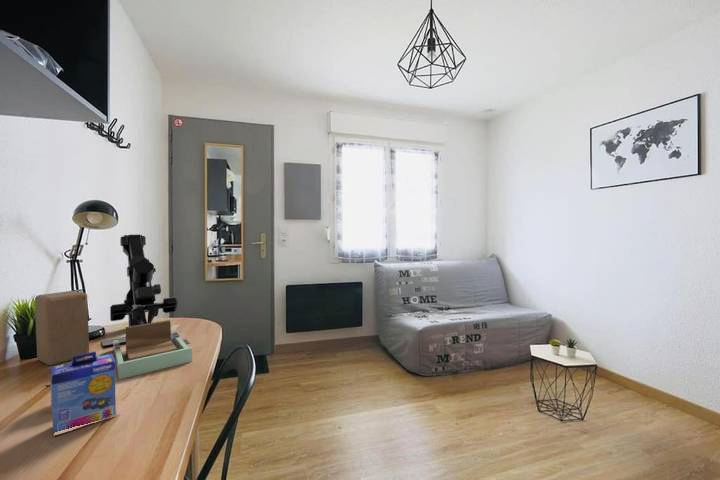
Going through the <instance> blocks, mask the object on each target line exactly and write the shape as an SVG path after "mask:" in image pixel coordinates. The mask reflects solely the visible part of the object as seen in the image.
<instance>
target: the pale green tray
mask: <svg viewBox="0 0 720 480" xmlns="http://www.w3.org/2000/svg"><path fill="white" fill-rule="evenodd" d="M171 341H172V342H173V344H174V345H175V346H176V348H177V350H175V351H171V352H166V353H162V354H157V355H153V356H148V357H143V358H139V359H134V360H130V361H128V360H126V361H124V358H123V355H122V350H121V345H120V342H119V340H118V339H116V340H115V339H114V340H113V342H112V344H113V353H111V354H112V355H113V357H114V360H115V365H116V368H117V373H118V379H119V380H122V379H127V378H130V377H134V376H139V375H143V374H146V373H150V372H155V371H159V370H162V369H166V368H170V367H171V368H172V367H174V366H179V365H184V364H188V363H193V347H191V346H190V347H189V346H188V344H189V345H190V342H189V340H188V339H187V338H184V339H182V338H181V336H180V334H179V332H177V331H175V329H171Z"/></svg>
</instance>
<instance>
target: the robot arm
mask: <svg viewBox="0 0 720 480" xmlns="http://www.w3.org/2000/svg"><path fill="white" fill-rule="evenodd" d="M146 239H147V238H146V236H145V235H142V234H140V233H139V234H124V235H123V236H120V242H119V244H120V247H122V252H123V253H124V254H125V255H126V256H127V261H128V263H127V264H128V266H126V276H127V278H129V280H128V281H129V289H128V292H127V293H126V295H125V299H124V300H123V302H122V303H117V304H112V305H110V307H109V311H110V313H109V314H110V315H109V318H110V321H112V322H116V321H122V320H125V318H126V316H128V327H129V326H135V325H141V324H147V323H153V320H154V318H156V317H157V316H158V315H159V311H160V309H162V312H163V313H165V314H168V313H174V312H176V311H177V307H178V299H177V297H174V296H172V297H165V298H163V301H162V302H161V301H160V302H156V295H161V294H162V287H161V284H160V283H158V284H157V283H156V284H152V281H153V275H154V274H155V273H156V268H155V265H154V264H153V263H152V262H150V260H149V259H148V258H146V256H145V252H144V246H146V245H147V243H146ZM146 313H147V315H146ZM146 316H147V317H146Z"/></svg>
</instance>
